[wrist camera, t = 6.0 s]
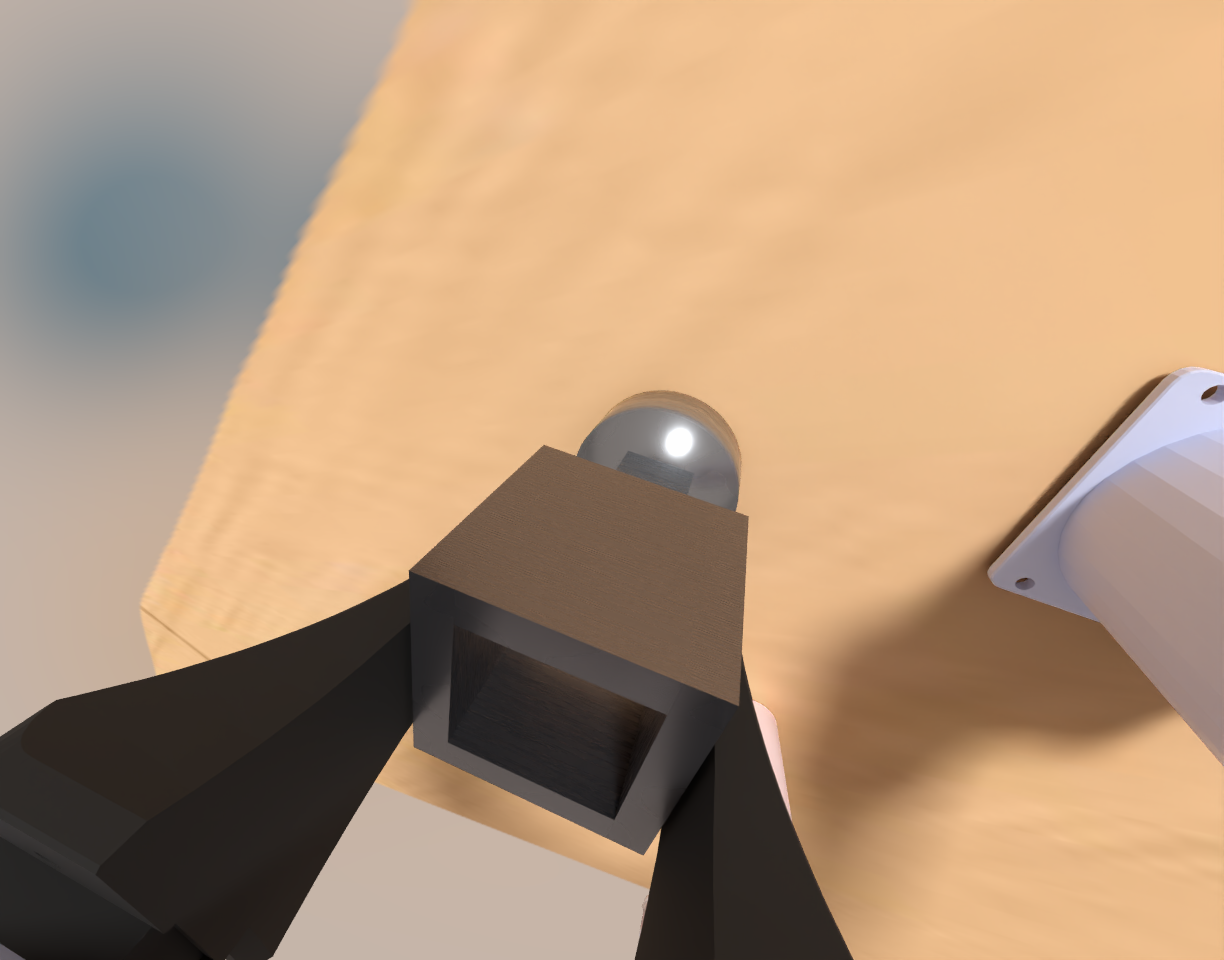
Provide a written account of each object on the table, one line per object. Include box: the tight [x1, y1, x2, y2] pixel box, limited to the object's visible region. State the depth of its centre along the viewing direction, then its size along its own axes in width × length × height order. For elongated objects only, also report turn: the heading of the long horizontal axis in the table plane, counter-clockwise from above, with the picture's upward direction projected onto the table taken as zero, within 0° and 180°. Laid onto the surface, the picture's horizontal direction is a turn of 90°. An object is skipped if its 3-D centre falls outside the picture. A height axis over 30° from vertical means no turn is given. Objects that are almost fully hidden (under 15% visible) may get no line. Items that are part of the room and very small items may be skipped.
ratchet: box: [577, 391, 741, 512], centre depth 19 cm, size 18×6×5 cm, turn 167°
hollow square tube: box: [409, 445, 748, 855], centre depth 10 cm, size 5×5×5 cm
